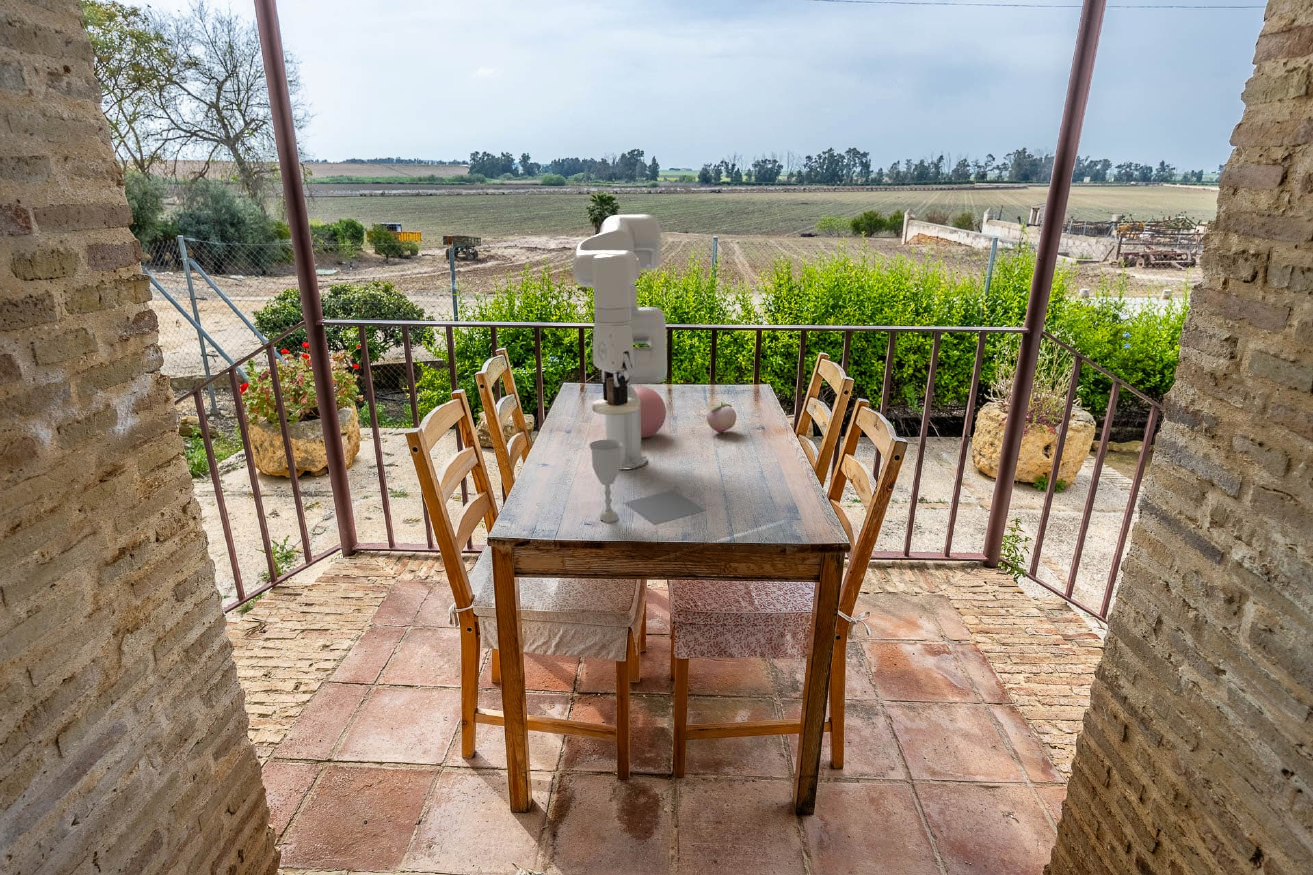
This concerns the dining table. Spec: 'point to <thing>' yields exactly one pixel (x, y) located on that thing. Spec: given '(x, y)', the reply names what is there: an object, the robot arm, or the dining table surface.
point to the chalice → (606, 470)
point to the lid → (609, 407)
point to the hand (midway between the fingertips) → (615, 400)
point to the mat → (664, 507)
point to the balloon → (650, 411)
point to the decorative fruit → (721, 417)
